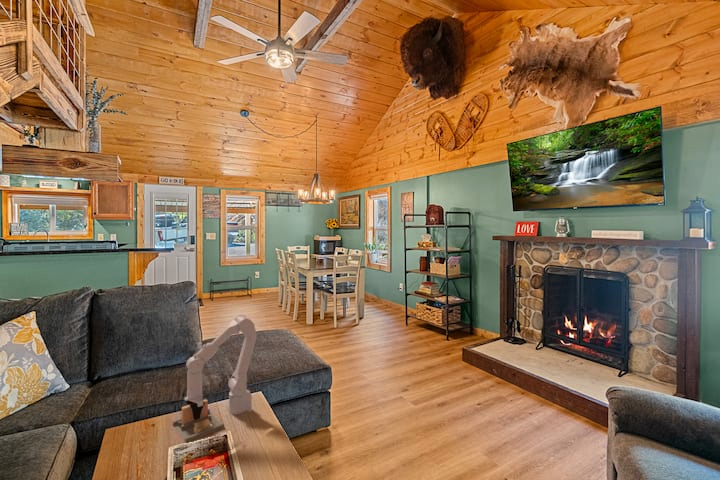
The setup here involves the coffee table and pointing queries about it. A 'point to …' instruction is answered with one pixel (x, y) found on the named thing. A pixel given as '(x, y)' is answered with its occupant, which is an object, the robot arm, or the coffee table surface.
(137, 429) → the coffee table surface
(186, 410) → the panel
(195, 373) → the robot arm
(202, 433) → the rack
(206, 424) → the offcut top
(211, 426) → the block
